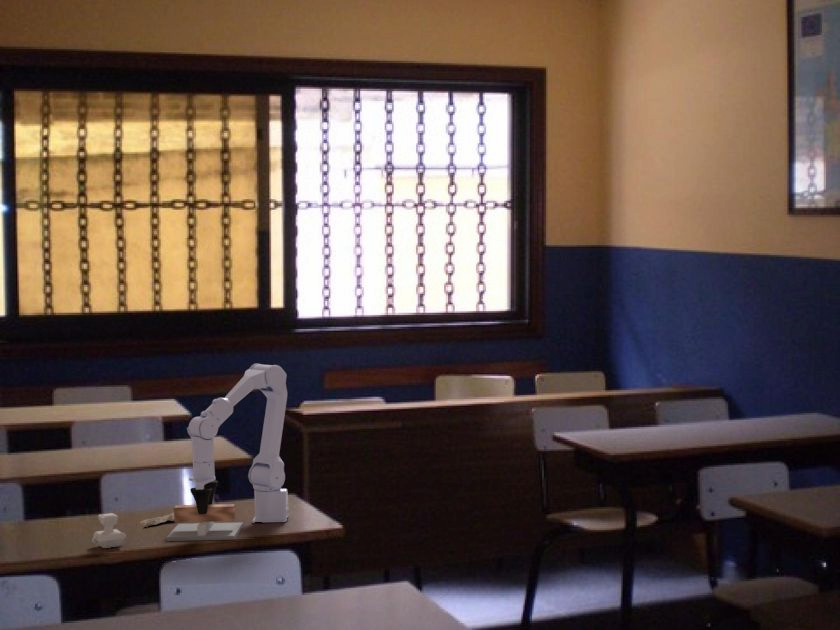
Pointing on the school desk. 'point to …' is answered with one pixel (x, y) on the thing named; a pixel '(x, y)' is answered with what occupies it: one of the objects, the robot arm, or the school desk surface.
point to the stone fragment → (158, 520)
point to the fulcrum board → (211, 535)
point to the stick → (213, 514)
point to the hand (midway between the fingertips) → (205, 511)
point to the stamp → (108, 532)
